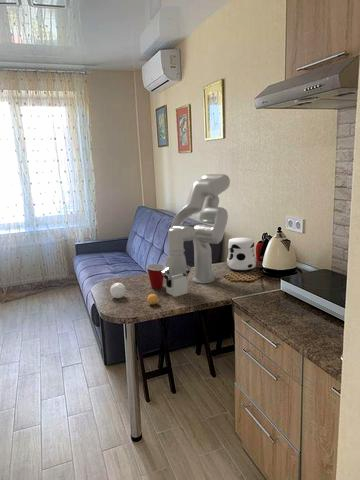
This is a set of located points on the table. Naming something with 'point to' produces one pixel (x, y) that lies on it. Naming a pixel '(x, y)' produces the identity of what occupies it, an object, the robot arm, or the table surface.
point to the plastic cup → (156, 275)
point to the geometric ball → (117, 290)
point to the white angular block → (177, 285)
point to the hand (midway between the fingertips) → (176, 285)
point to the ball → (152, 299)
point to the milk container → (241, 254)
